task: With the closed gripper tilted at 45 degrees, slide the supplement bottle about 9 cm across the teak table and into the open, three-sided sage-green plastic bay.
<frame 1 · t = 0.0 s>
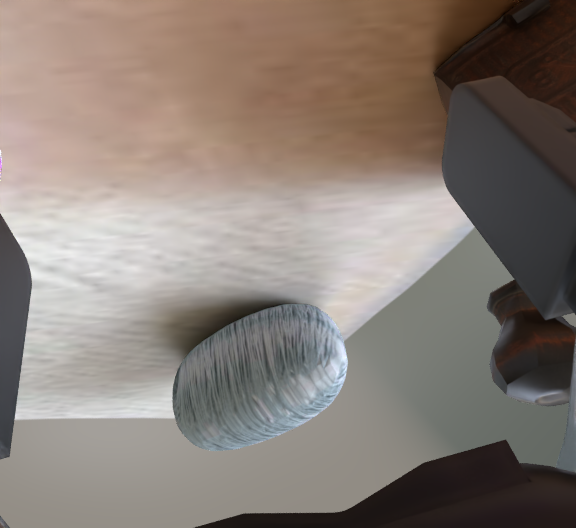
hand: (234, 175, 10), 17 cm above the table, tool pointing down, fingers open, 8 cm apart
manual coffee grinder: (494, 99, 32), on the table
grey yarn ball: (248, 330, 43), on the table
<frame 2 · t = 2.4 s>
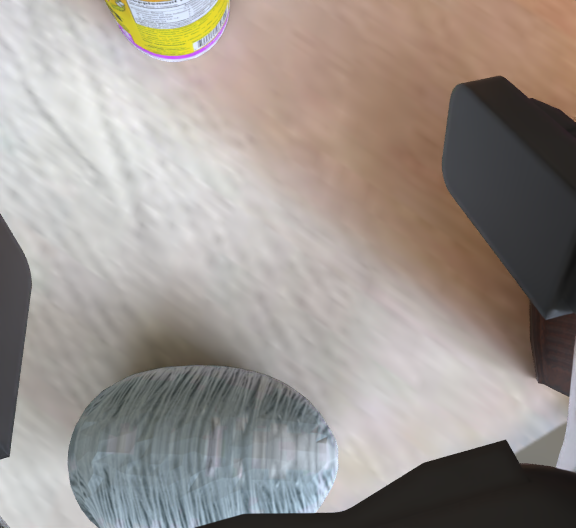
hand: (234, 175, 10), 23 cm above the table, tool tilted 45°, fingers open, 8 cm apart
supplement bottle: (173, 10, 32), on the table
manual coffee grinder: (568, 297, 35), on the table
grey yarn ball: (209, 429, 33), on the table
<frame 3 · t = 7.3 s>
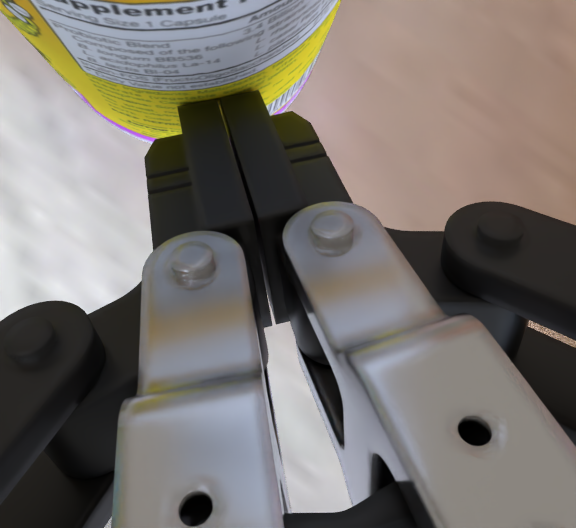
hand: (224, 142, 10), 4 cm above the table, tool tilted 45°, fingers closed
supplement bottle: (190, 32, 14), on the table, touching gripper
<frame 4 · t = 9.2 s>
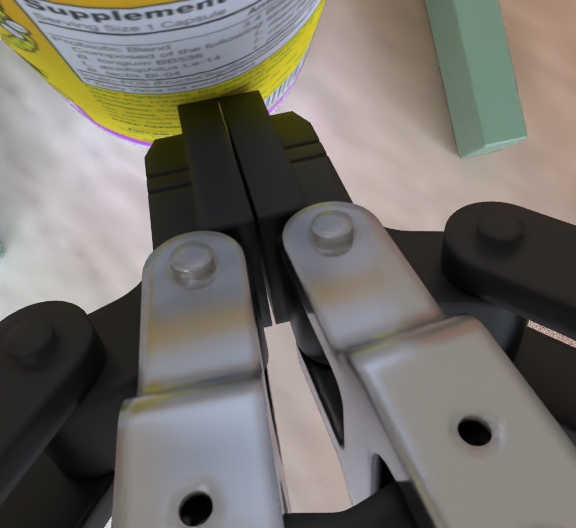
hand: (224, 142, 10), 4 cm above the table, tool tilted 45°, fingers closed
supplement bottle: (178, 34, 14), on the table, touching gripper
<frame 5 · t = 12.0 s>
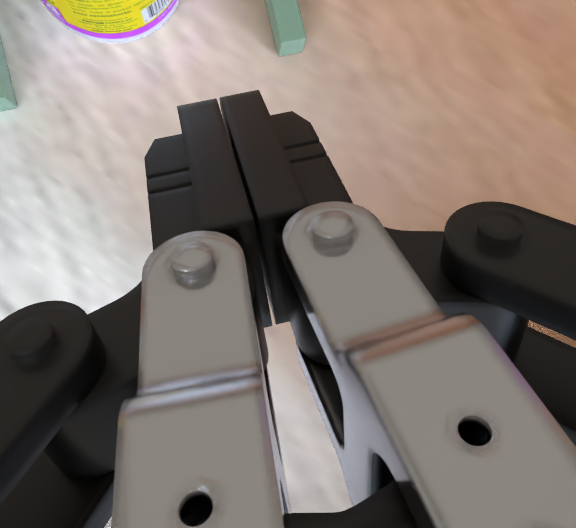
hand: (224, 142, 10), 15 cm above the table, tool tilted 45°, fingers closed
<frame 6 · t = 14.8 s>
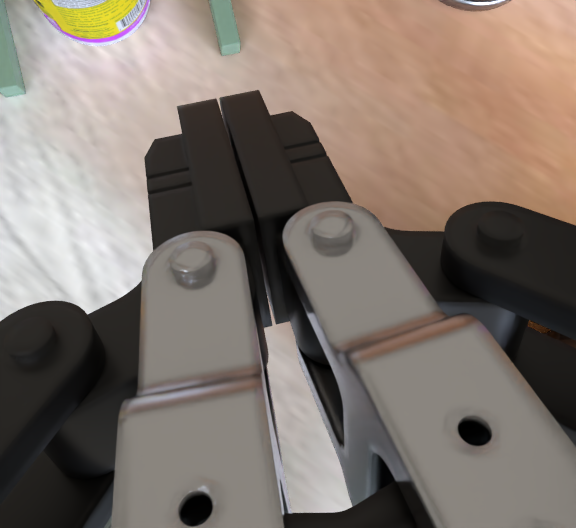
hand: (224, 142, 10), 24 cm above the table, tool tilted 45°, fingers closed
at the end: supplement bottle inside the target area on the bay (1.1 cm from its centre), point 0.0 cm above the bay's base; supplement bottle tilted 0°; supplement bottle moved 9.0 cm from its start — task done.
